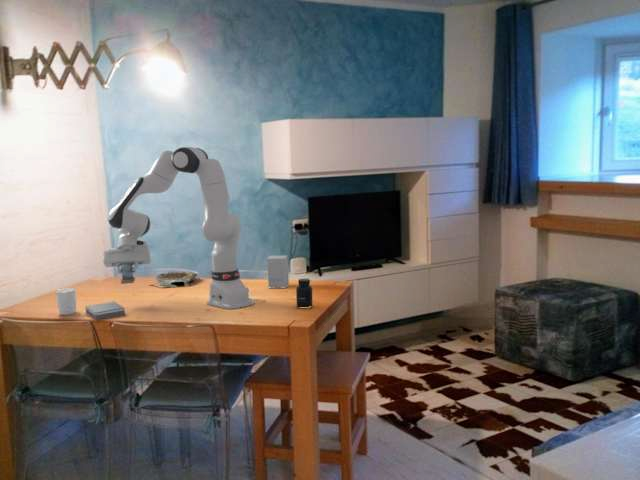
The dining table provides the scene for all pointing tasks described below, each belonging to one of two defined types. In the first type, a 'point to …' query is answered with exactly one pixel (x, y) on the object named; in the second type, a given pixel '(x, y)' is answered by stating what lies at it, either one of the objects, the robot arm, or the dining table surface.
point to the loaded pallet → (127, 274)
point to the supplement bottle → (304, 293)
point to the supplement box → (277, 271)
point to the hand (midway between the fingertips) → (127, 272)
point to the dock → (105, 310)
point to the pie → (174, 278)
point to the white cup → (66, 301)
